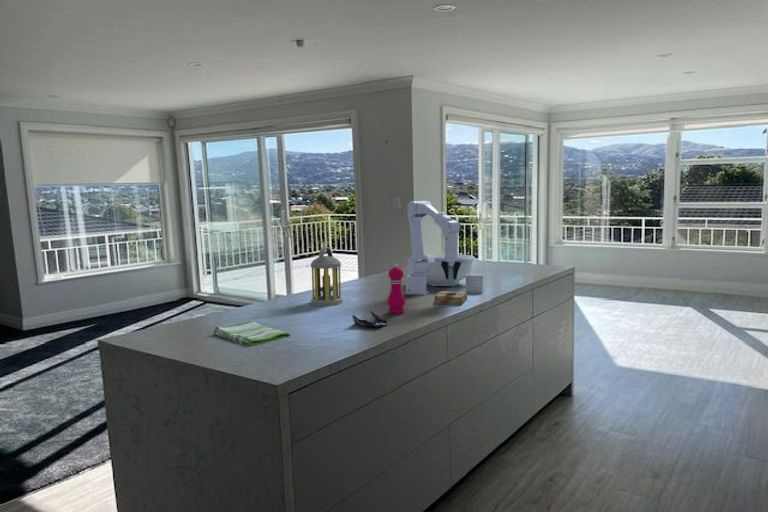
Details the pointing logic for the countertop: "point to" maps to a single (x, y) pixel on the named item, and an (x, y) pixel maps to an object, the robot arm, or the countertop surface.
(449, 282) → the peg
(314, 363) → the countertop surface
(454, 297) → the socket block
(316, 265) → the lantern
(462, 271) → the bowl
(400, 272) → the pepper mill
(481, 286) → the medicine box
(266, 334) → the dish towel
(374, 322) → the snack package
